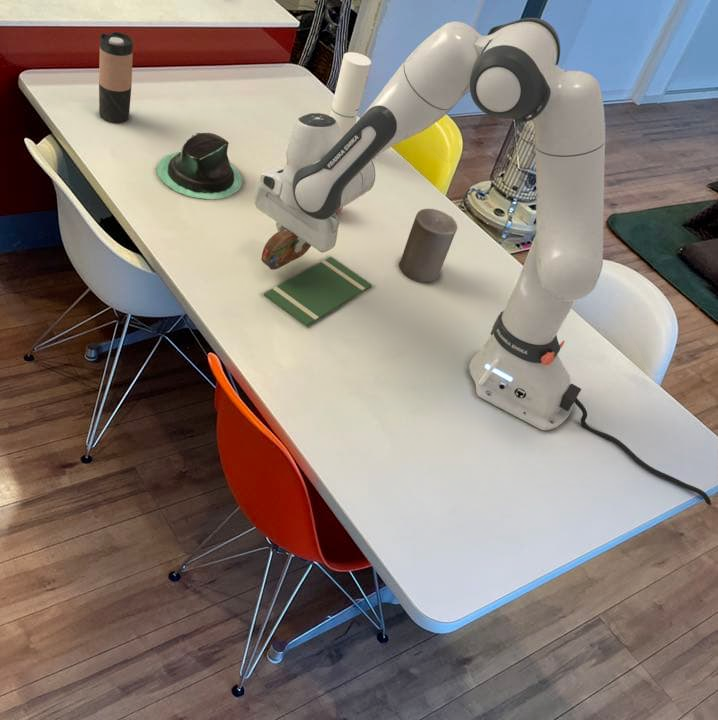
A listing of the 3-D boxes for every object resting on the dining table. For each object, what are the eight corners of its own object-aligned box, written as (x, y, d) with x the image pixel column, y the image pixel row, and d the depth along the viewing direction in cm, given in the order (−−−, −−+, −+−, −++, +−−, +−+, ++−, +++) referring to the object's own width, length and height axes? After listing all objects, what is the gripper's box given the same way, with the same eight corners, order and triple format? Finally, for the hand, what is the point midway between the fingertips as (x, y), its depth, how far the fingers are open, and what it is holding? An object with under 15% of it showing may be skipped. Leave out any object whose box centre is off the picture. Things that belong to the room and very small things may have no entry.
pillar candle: (390, 264, 179) (408, 210, 169) (416, 252, 186) (435, 199, 176) (421, 288, 176) (442, 233, 166) (447, 274, 182) (468, 221, 172)
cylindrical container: (353, 148, 215) (376, 61, 198) (339, 156, 210) (361, 67, 193) (332, 137, 217) (353, 50, 200) (318, 144, 212) (338, 55, 195)
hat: (227, 207, 178) (143, 183, 178) (242, 205, 197) (165, 183, 196) (242, 141, 175) (156, 117, 175) (256, 145, 193) (178, 123, 193)
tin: (265, 275, 162) (276, 245, 157) (254, 265, 163) (265, 235, 157) (310, 252, 173) (322, 223, 167) (300, 243, 174) (312, 214, 168)
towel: (371, 286, 172) (372, 284, 171) (306, 326, 157) (307, 324, 156) (330, 258, 175) (330, 256, 175) (263, 295, 161) (264, 292, 160)
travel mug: (126, 126, 195) (129, 48, 181) (94, 119, 193) (95, 40, 180) (133, 112, 200) (136, 36, 187) (102, 105, 199) (104, 28, 186)
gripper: (350, 211, 155) (335, 265, 164) (275, 162, 162) (264, 217, 171) (330, 221, 151) (316, 276, 160) (254, 170, 157) (244, 226, 167)
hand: (289, 245), depth 165 cm, fingers closed on tin, 2 cm apart
